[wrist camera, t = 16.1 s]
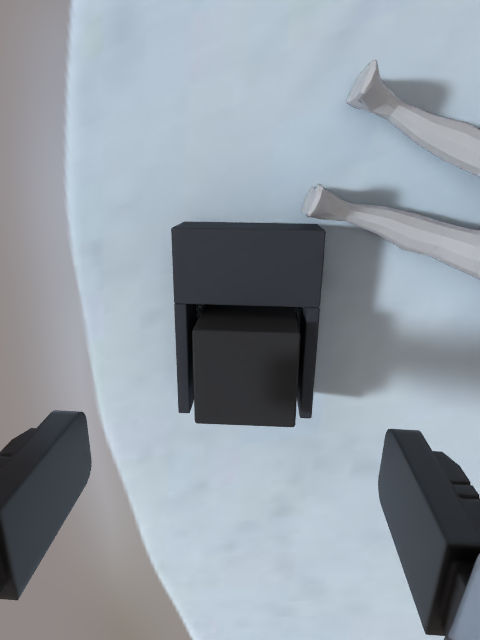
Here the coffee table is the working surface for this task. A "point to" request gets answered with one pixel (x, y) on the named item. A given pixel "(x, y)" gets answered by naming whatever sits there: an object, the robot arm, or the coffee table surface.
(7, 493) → the robot arm
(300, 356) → the dark u-shaped block
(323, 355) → the coffee table surface
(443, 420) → the coffee table surface
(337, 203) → the male figure
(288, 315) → the black block
